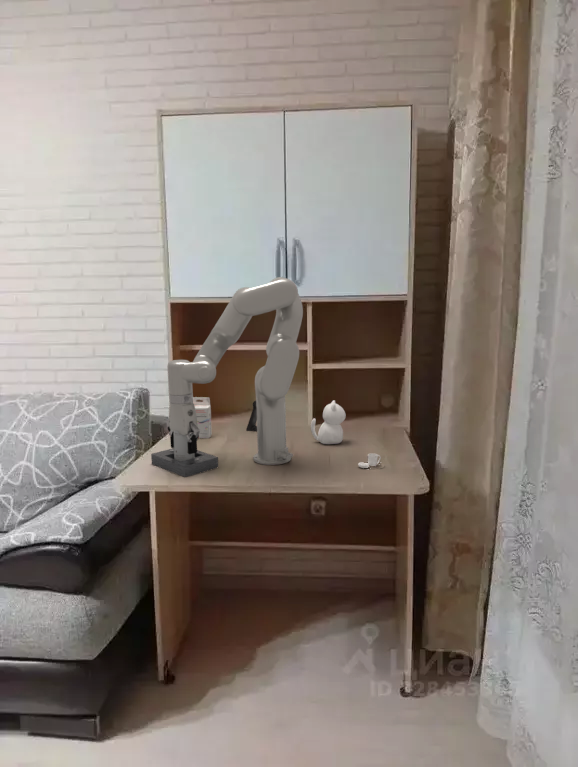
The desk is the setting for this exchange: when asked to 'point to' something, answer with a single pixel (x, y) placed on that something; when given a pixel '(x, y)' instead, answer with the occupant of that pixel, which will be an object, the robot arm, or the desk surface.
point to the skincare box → (181, 447)
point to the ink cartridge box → (203, 416)
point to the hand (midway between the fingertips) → (183, 450)
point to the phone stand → (253, 419)
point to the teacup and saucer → (370, 461)
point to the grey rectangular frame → (184, 462)
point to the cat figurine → (330, 425)
